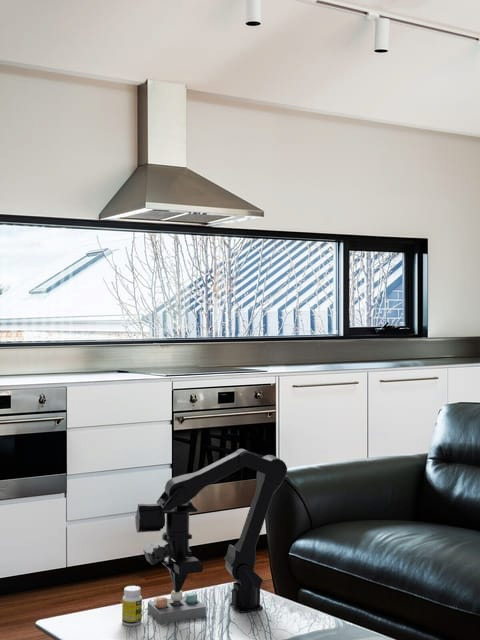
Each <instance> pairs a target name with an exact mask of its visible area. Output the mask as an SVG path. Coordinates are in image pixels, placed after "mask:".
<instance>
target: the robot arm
mask: <svg viewBox="0 0 480 640" xmlns="http://www.w3.org/2000/svg"><path fill="white" fill-rule="evenodd" d="M242 468H247V469H251V470H254V471H256V489H255V491H254V495H253V496H252V497H253V498H252V501H251V503H250V507H249V509H248V512H247V515H246V519H245V521H244V524H243V528H242V529H241V533H240V537H239V539H238V541H237V542H236V543H235V544H234V545H232V543H231V544H228V548H227V551H226V555H225V556H224V557H223V560H225V568H226V571H228V573H229V574H230V575H231V577H233V579H234V580H235V582H233V583H232V586H233V588H232V589H231V599H230V600H231V602H230V603H229V604H230V606H231V607H233V608H234V609H235V610H237V611H238V612H239V613H247V612H253V611H258V610H263V609H264V606H263V605H261V586H262V583H263V581H264V579H263V578H262V577H261V576H260V575H259V574H258V573H257V572H256V571H255V567H256V566H255V565H256V557H257V556H256V547H257V543H258V541H259V538H260V534H261V531H262V529H263V526H264V523H265V520H266V517H267V514H268V510H269V509H270V505H271V503H272V499H273V496H274V494H275V493H276V491H277V490H278V489H279V488H280V487H281V485H282V483H283V481H284V480H285V478H286V476H287V474H288V467H287V464H286V462H284V460H282V459H281V458H279V457H277V456H275V455H272V454H267V455H261V454H258V453H255V452H251V451H248V450H246V449H244V448H239V449H237V450H236V451H234V452H232V453H230V454H229V455H226V456H225V457H223V458H221V459H218V460H217V461H214V462H213V463H211V464H209V465H207V466H205V467H203V468H201V469H199V470H198V471H195V472H191V473H190V472H189V473H185V474H181V475H178V476H175V477H171V478H170V479H169V480H167V481H166V484H165V487H164V491H163V492H162V493H161V495H160V497H158V499H157V500H156V503H151V504H150V503H149V504H147V503H146V504H145V503H138V504H137V509H136V513H135V520H134V521H135V529H136V532H137V533H149V532H150V533H152V532H161V530H162V529H164V528H165V532H163V534H162V535H161V538H162V539H160V540H156V541H154V542H153V543H150V544H149V545H147V546H144V547H143V549H142V550H143V554H144V557H145V559H146V561H147V562H148V563H150V565H156V564H158V562H160V561H162V560H163V561H162V562H161V563H162V564H163V565H164V566H165V567H166V568H167V570H168V572H169V575H170V579H171V583H172V586H173V590H174V591H175V592H180V590H181V591H182V588H183V586H184V584H185V582H186V579H187V578H188V575H189V574H190V575H191V574H197V573H198V574H199V573H202V572H204V571H203V569H204V567H203V566H204V564H203V562H202V561H201V560H199V559H198V558H196V557H195V556H192V554H193V553H192V551H193V550H191V549H190V540H192V539H193V534H192V533H190V513H197V512H198V509H197V507H196V506H194V505H193V503H192V501H191V500H193V499H194V498H196V497H197V496H198V494H199V493H200V492H201V491H202V490H203V489H205V488H206V487H208V486H210V485H212V484H214V483H215V482H218V481H220V480H221V479H224V478H226V477H227V476H229V475H231V474H233V473H235V472H237V471H238V470H241V469H242Z"/></svg>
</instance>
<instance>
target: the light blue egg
mask: <svg viewBox="0 0 480 640" xmlns="http://www.w3.org/2000/svg"><path fill="white" fill-rule="evenodd" d="M185 596H186V603H188V605H190V604H195V603H197V600H198V594H197V593H195V592H187V593H186V594H185Z"/></svg>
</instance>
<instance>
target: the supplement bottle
mask: <svg viewBox="0 0 480 640" xmlns="http://www.w3.org/2000/svg"><path fill="white" fill-rule="evenodd" d="M141 590H142V589H141V587H140V586H139V585H137V586H136V585H127V586H126V587H124V590H123V596H122V600H121V601H122V606H121V607H122V609H121V610H122V613H121V614H122V617H121V622H122V624H123V625H125V626H128V627H129V626H130V627H134V626H135V627H136V626H139V625H140V624H142V622H143V621H142V620H143V616H142V615H143V614H142V613H143V610H142V609H143V597H142V595H141V593H142V591H141Z"/></svg>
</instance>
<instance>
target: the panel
mask: <svg viewBox="0 0 480 640" xmlns="http://www.w3.org/2000/svg"><path fill="white" fill-rule="evenodd" d="M147 612H148V613H149V614H150V615H151V616H152V617H153V618H154V619H155V620H156V621H157V622H158V623H159V624H161V625H162V624H167V623H174V622H180V621H185V620H192V619H197V617H198V618H202V617H204V618H205V617H206V616H207V606H206V605H204V604H203V603H202V602H201V601H200V600H198V599H197V603H195V604H190V605H188V603H186V595H184V596H182V600H180V606H177V607H173V600H171V598H167V607H166V608H165V609H158V608H157V607H156V600H152V601H147Z"/></svg>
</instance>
